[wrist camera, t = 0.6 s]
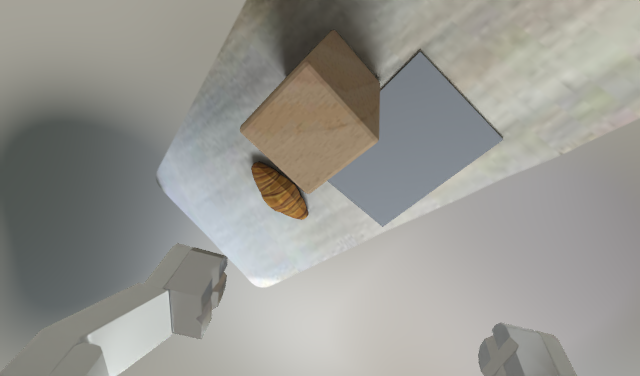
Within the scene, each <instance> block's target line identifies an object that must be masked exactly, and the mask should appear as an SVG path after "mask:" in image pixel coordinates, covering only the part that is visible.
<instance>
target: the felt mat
mask: <svg viewBox="0 0 640 376" xmlns="http://www.w3.org/2000/svg"><path fill="white" fill-rule="evenodd" d="M502 140H503V139H502V138H501V136H500V135H499V134H498V133H497V132H496V131H495V130H494V129H493V128H492V127H491V126H490V125H489V124H488V123H487V122H486V121H485V120H484V118H483V117H482V116H481V115H480V114H479V113H478V112H477V111H476V110H475V109H474V108H473V107H472V106H471V105H470V104H469V103H468V102H467V100H466V99H465V98H464V97H463V96H462V95H461V94H460V93H459V92H458V91H457V90H456V89H455V88H454V87H453V86H452V85H451V84H450V82H449V81H448V80H447V79H446V78H445V77H444V76H443V75H442V74H441V73H440V72H439V71H438V70H437V69H436V68H435V67H434V66H433V64H432V63H431V62H430V61H429V60H428V59H427V58H426V57H425V56H424V55H423V54H422V53H421V52H419V53H418V54H417V55H416V56H415V57H414V58H413V59H412V60H411V61H410V62H409V63H408V64H407V65H406V66H405V67H404V68H403V69H402V70H401V71H400V72H399V73H398V74H397V75H396V76H395V77H394V78H393V79H392V80H391V81H390V82H389V83H388V84H387V85H386V86H385V87H384V88H383V89H382V90H381V91H380V120H379V140H378V142H377V143H376V144H375V145H373V146H372V147H371V148H369V149H368V150H367V151H365V152H364V153H363V154H361V155H360V156H359V157H357V158H356V159H355V160H353V161H352V162H351V163H350V164H348V165H347V166H346V167H344V168H343V169H342V170H340V171H339V172H338V173H336V174H335V175H334V176H332V177H331V178H330V179H328V180H327V181H328V182H329V183H331V184H332V185H333V186H334V187H335V188H337V189H338V190H339V191H340V192H341V193H343V194H344V195H345V196H346V197H347V198H349V199H350V200H351V201H352V202H353V203H355V204H356V205H357V206H358V207H359V208H361V209H362V210H363V211H364V212H365V213H367V214H368V215H369V216H370V217H371V218H373V219H374V220H375V221H376V222H377V223H379V224H380V225H381V226H382V227H383V226H384V225H386V224H387V223H389V222H390V221H391V220H393V219H394V218H396V217H397V216H398V215H400V214H401V213H402V212H404V211H405V210H407V209H408V208H409V207H411V206H412V205H414V204H415V203H416V202H418V201H419V200H420V199H422V198H423V197H425V196H426V195H427V194H429V193H430V192H431V191H433V190H434V189H436V188H437V187H438V186H440V185H441V184H443V183H444V182H445V181H447V180H448V179H449V178H451V177H452V176H454V175H455V174H456V173H458V172H459V171H461V170H462V169H463V168H465V167H466V166H467V165H469V164H470V163H472V162H473V161H474V160H476V159H477V158H478V157H480V156H481V155H483V154H484V153H485V152H487V151H488V150H490V149H491V148H492V147H494V146H495V145H496V144H498V143H499V142H501V141H502Z"/></svg>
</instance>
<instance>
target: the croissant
mask: <svg viewBox="0 0 640 376" xmlns="http://www.w3.org/2000/svg"><path fill="white" fill-rule="evenodd" d="M251 170H252V174H253V178H254V180H255V182H256V184H257V187H258V189H259V190H260V192H261V195H262V197H263V199H264V201H265V202H266V203H267V204H268V206H270V207H271V208H272V209H274V210H275V211H278V212H281V213H283V214H285V215H288V216H290V217H293V218H296V219H301V220H302V219H305V218H306V217H307V216H308V210H307V207H306V205H305V202H304V200H303V198H302V197H301V196H300V193H299V191H298V189H297V188H296V186H295V185H294V184H293V183H292V182H291V181H289V180H288V179H287V178H285V177H284V176H282V175H280V174H279V173H278V172H277V171H276V170H275V169H273V168H271V167H269V166H268V165H266V164H264V163H261V162H259V161H258V162H256V163H254V164H253V166H252V168H251Z"/></svg>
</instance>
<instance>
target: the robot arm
mask: <svg viewBox="0 0 640 376" xmlns="http://www.w3.org/2000/svg"><path fill="white" fill-rule="evenodd" d="M226 267H227V256H224V255H221V254H217V253H213V252H210V251H206V250H202V249H199V248H194V247H190V246H186V245H183V244H179V243H177V244H176V245H175V246H173V247H172V248H171V249H170V251H169V252H168V253H167V255H166V256H165V257H164V259H163V260H162V261H161V262H160V264H159V265H158V266H157V268H156V269H155V270H154V271H153V273H152V274H151V275H150V277H149V278H148V279H147V280H146V282H145V283H144V284H141V283H137V284H135V285H133V286H131V287H129V288H127V289H125V290H123V291H121V292H119V293H117V294H115V295H112V296H110V297H108V298H106V299H104V300H102V301H100V302H98V303H96V304H94V305H92V306H90V307H88V308H85V309H83V310H82V311H79V312H77V313H75V314H73V315H71V316H69V317H67V318H65V319H63V320H60V321H58V322H56V323H54V324H52V325H50V326H48V327H46V328H44V329H42V330H41V331H40V332H39V333H38V334H37V335H36V336H35V337H34V338H33V339H32V340H31V341H30V342H29V343H28V344H27V345H26V346H25V348H23V349H22V350H21V351H20V352H19V354H18V355H17V356H16V357H15V358H14V359H13V360H12V361H11V362H10V363H9V364H8V365H7V366H6V367H5V368H4V369H3V370H2V371H1V372H0V376H117V375H119V374H120V373H121V372H123V371H124V370H125V369H127V368H128V367H129V366H131V365H132V364H133V363H135V362H136V361H137V360H139V359H140V358H141V357H143V356H144V355H146V354H147V353H148V352H149V351H151V350H152V349H154V348H155V347H156V346H157V345H159V344H160V343H162V342H163V341H164V340H166V339H167V338H168V337H170V336H171V335H172V333H175V334H179V335H184V336H189V337H193V338H197V339H202V337H203V335H204V333H205V331H206V329H207V327H208V325H209V323H210V321H211V319H212V310H213V309H214V308H216V307H218V305H219V303H220V301H221V298H222V296H223V293H224V290H225V286H226V278H227V275H226V274H225V272H224V271H225V268H226ZM492 332H493V335H494V336H491V337H488V338H486V339H484V341H483V342H482V344H481V346H480V350H479V354H478V357H479V365H480V369H481V372H482V373H483V375H484V376H577V375H576V373H575V371H574V369H573V367H572V365H571V363H570V361H569V360H568V358H567V355H566V354H565V352H564V350H563V348H562V346H561V344H560V342H559V340H558V339H557V338H556V337H555V336H554V335H551V334H546V333H542V332H538V331H534V330H531V329H526V328H522V327H517V326H513V325H509V324H504V323H499V324H496V325H495V326H494V328H493V329H492Z"/></svg>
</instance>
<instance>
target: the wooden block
mask: <svg viewBox="0 0 640 376" xmlns="http://www.w3.org/2000/svg"><path fill="white" fill-rule="evenodd" d="M379 120H380V83H379V81H378V80H377V79H376V78H375V76H374V75H373V74H372V73H371V72H370V71H369V69H368V68H367V67H366V66H365V65H364V63H363V62H362V61H361V60H360V59H359V58H358V56H357V55H356V54H355V53H354V52H353V51H352V49H351V48H350V47H349V46H348V45H347V43H346V42H345V41H344V40H343V39H342V38H341V36H340V35H339V34H338V33H337V32H336V31H335V30H332V31H330V32H329V33H328V34H327V35H326V36H325V38H324V39H323V40H322V41H321V42H320V43H319V44H318V45H317V46H316V47H315V48H314V49H313V50H312V51H311V52H310V53H309V54H308V55H307V56H306V57H305V58H304V59H303V60H302V61H301V62H300V64H299V65H298V66H297V67H296V68H295V69H294V70H293V71H292V72H291V73H290V74H289V75H288V76H287V77H286V78H285V79H284V80H283V81H282V82H281V83H280V85H279V86H278V87H277V88H276V89H275V90H274V91H273V92H272V93H271V94H270V95H269V96H268V97H267V98H266V100H265V101H264V102H263V103H262V104H261V105H260V106H259V107H258V108H257V109H256V110H255V111H254V112H253V113H252V115H251V116H250V117H249V118H248V119H247V120H246V121H245V122H244V123H243V124H242V125H241V127H240V132H241V133H242V134H243V135H244V136H245V137H246V138H247V139H248V140H249V141H250V142H251V143H253V144H254V145H255V146H256V147H257V148H258V149H259V150H260V151H261V152H262V153H263V154H264V155H265V156H266V157H268V158H269V159H270V160H271V161H272V162H273V163H274V164H275V165H276V166H277V167H278V168H279V169H280V170H281V171H283V172H284V173H285V174H286V175H287V176H288V177H289V178H290V179H291V180H292V181H293V182H294V183H295V184H296V185H298V186H299V187H300V188H301V189H302V190H303V191H304V192H305V193H307V194H309V193H311V192H313V191H314V190H315V189H317V188H318V187H319V186H321V185H322V184H323V183H325V182H326V181H327V180H328V179H330V178H331V177H332V176H334V175H335V174H336V173H338V172H339V171H340V170H342V169H343V168H344V167H346V166H347V165H348V164H350V163H351V162H352V161H353V160H355V159H356V158H357V157H359V156H360V155H361V154H363V153H364V152H365V151H367V150H368V149H369V148H371V147H372V146H373V145H375V144H376V143H377V142H378V140H379Z"/></svg>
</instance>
